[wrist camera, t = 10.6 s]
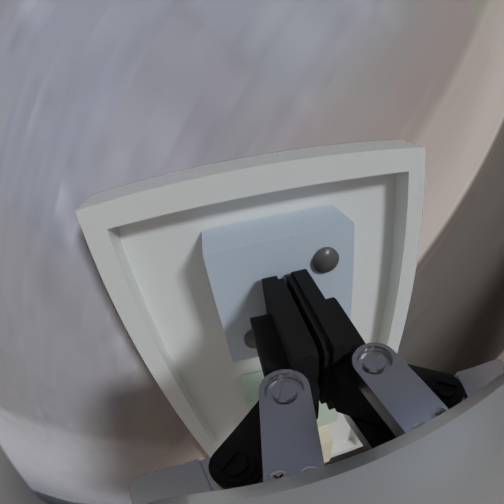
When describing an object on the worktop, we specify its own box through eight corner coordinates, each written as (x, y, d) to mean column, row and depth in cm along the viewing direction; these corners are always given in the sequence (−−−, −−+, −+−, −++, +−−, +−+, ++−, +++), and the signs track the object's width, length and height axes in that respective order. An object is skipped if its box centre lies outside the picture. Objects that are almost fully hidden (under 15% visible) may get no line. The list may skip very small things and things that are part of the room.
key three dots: (332, 204, 12) (356, 224, 10) (333, 306, 14) (350, 333, 13) (201, 231, 11) (202, 257, 10) (228, 331, 14) (233, 364, 12)
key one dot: (331, 352, 16) (345, 379, 14) (328, 399, 19) (337, 422, 17) (240, 375, 16) (246, 405, 14) (254, 418, 18) (259, 443, 16)
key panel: (399, 139, 12) (425, 147, 10) (357, 431, 26) (363, 445, 24) (92, 194, 11) (75, 210, 9) (227, 465, 24) (229, 481, 23)
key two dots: (325, 421, 21) (334, 442, 19) (323, 444, 23) (329, 462, 21) (260, 438, 20) (266, 460, 18) (267, 459, 23) (272, 478, 21)
